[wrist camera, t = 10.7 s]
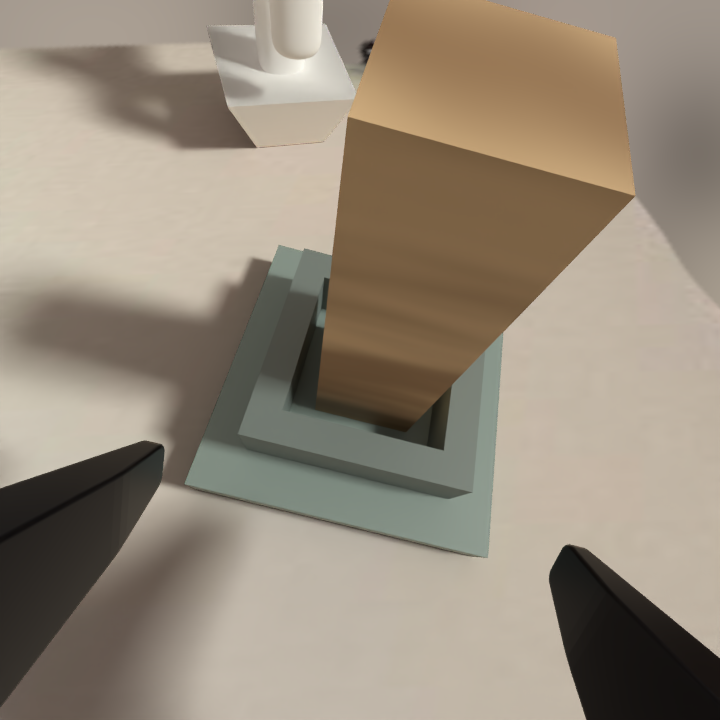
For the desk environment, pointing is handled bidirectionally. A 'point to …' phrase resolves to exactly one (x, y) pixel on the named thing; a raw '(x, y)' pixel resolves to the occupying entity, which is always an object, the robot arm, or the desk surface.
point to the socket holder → (346, 431)
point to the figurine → (283, 73)
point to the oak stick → (462, 194)
